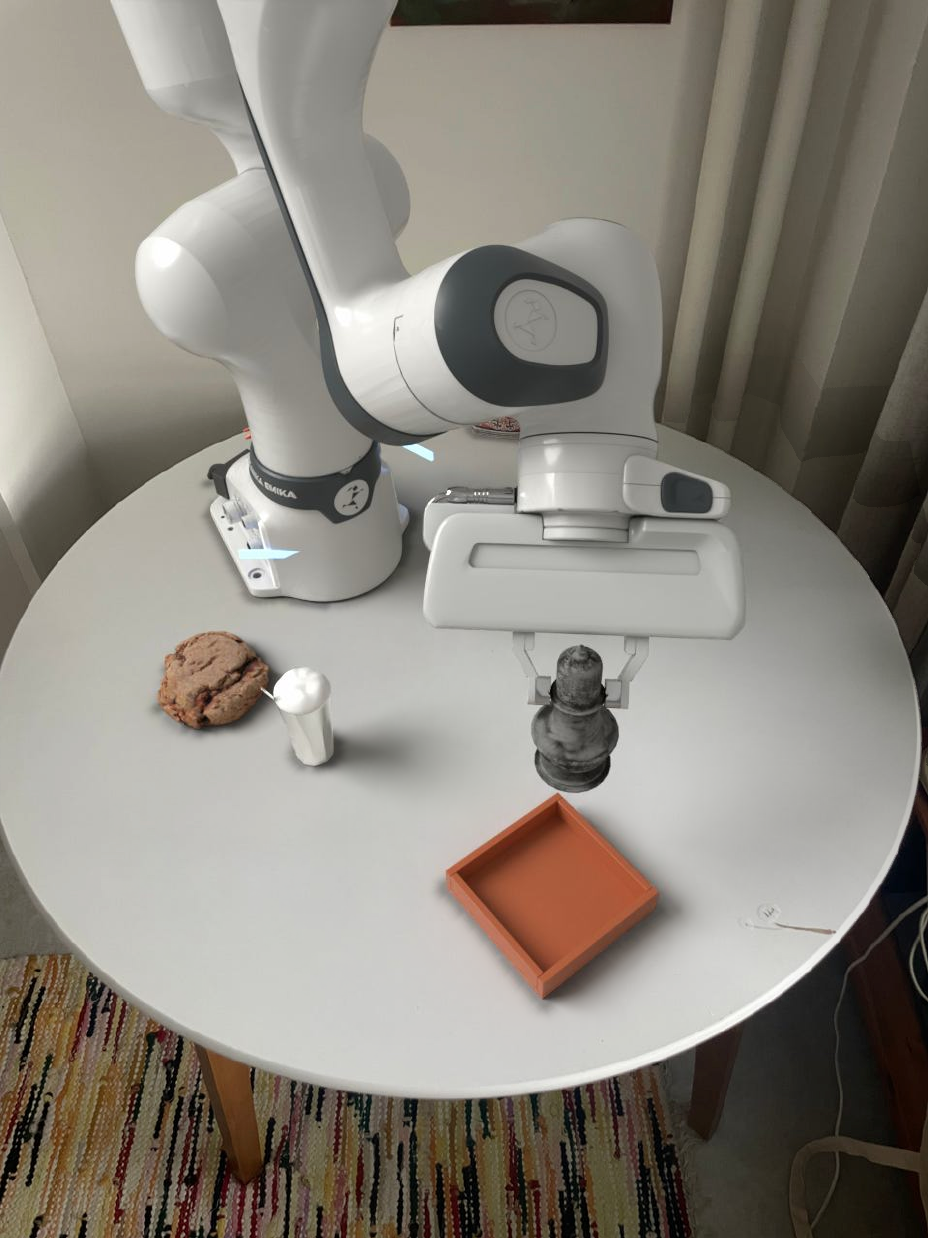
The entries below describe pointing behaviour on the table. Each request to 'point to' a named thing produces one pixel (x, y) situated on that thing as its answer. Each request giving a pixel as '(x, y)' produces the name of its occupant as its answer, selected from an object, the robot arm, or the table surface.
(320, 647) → the table surface
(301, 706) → the milkshake cup
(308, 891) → the table surface
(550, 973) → the tray
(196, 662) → the cookie
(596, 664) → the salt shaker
